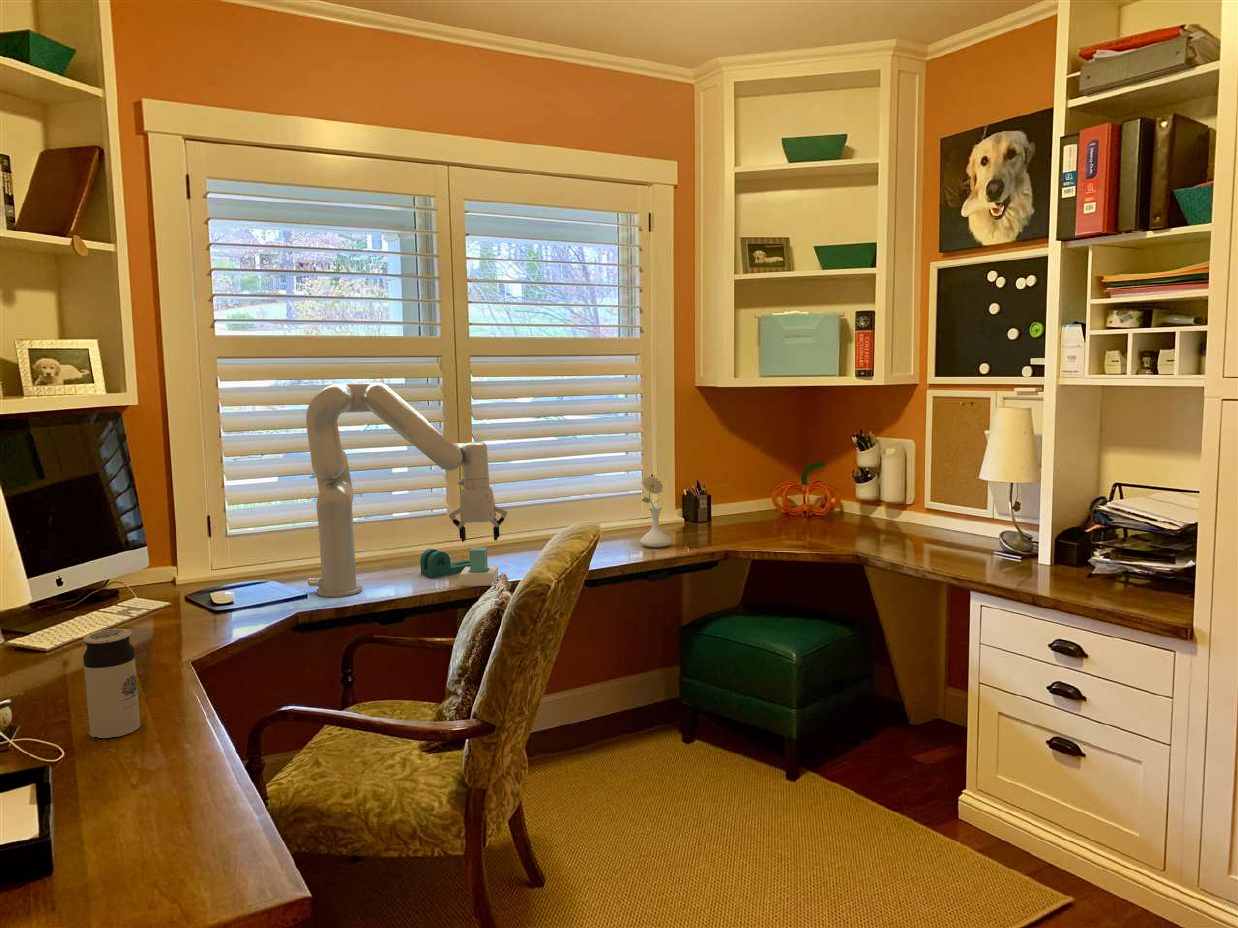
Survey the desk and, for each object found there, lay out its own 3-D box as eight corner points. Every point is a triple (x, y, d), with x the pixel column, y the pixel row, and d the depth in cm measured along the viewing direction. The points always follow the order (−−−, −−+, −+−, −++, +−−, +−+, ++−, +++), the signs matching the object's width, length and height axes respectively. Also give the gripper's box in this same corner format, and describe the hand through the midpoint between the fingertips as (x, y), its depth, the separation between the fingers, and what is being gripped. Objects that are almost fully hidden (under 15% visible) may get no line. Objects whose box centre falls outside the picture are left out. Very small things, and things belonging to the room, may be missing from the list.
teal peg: (470, 583, 268) (469, 550, 267) (473, 580, 273) (472, 547, 272) (485, 583, 268) (484, 550, 267) (488, 579, 273) (486, 547, 272)
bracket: (431, 578, 276) (430, 553, 275) (421, 575, 281) (419, 550, 281) (482, 569, 288) (481, 545, 287) (470, 566, 293) (470, 542, 292)
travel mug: (79, 736, 161) (70, 638, 159) (118, 720, 168) (110, 626, 166) (112, 742, 158) (103, 643, 156) (150, 725, 165) (142, 630, 163)
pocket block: (459, 585, 266) (459, 574, 265) (465, 577, 276) (465, 566, 275) (493, 585, 266) (493, 573, 265) (498, 577, 275) (497, 566, 275)
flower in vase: (678, 546, 316) (677, 476, 314) (652, 550, 310) (651, 479, 307) (656, 541, 327) (655, 472, 324) (630, 545, 321) (629, 475, 318)
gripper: (444, 486, 264) (448, 543, 266) (503, 484, 263) (507, 541, 265) (449, 483, 271) (453, 538, 273) (507, 480, 271) (510, 536, 273)
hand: (479, 540), depth 269 cm, fingers open, 9 cm apart
